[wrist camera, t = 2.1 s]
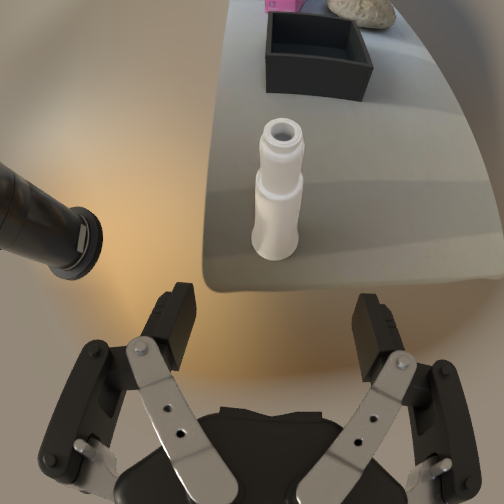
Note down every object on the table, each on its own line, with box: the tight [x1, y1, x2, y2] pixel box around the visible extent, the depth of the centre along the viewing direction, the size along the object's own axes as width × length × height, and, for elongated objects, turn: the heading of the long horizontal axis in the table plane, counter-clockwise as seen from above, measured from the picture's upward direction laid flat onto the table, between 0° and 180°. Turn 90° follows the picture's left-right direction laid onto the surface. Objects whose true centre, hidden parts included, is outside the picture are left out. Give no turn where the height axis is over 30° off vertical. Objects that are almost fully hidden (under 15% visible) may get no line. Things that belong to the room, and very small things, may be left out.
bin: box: [265, 11, 374, 102], centre depth 39 cm, size 17×17×9 cm
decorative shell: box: [326, 0, 396, 29], centre depth 43 cm, size 18×18×10 cm
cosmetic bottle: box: [251, 118, 305, 261], centre depth 26 cm, size 6×6×22 cm
